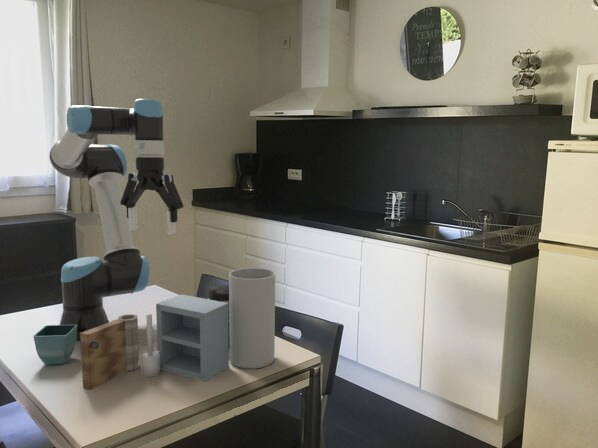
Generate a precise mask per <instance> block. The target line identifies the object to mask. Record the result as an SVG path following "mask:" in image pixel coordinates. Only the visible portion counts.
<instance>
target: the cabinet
mask: <svg viewBox="0 0 598 448" xmlns="http://www.w3.org/2000/svg"><path fill="white" fill-rule="evenodd" d="M155 308H156V310H155V312H156V314H155V315H156V317H155V318H156V341H157V345H156V349H157V350H156V351H154V343H153V342H154V341H153V315H152V313H146V316H145V318H146V320H145V321H146V351H147V352H145V353H142V354H141V357H140V358H141V376H143V377H144V378H145V377H146V378H153V377H155V376H158V375H160V370H162V371H166V372H170V373H173V374H177V375H180V376H184V377H188V378H190V379H195V380H197V381H198V380H199V381H202V382H208V381H209V380H211V379H213V378H214V377H216V376H217V375H219V374H220V373H221V372H223V371H225V370H227V369H229V367H230V366H229V365H230V363H229V361H230V348H229V329H228V303H225V302H220V301H214V300H209V299H208V298H203V297H197V296H193V295H186V294H178V295H176V296H173V297H171V298H166V299H165V300H162V301H159V302H157V303H155Z"/></svg>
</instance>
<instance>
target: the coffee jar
mask: <svg viewBox="0 0 598 448" xmlns="http://www.w3.org/2000/svg"><path fill="white" fill-rule="evenodd" d="M207 299H209V300H214V301H220V302H225V303H228V329H229V284H222V285H215V286H209V288H208V293H207ZM229 349H230V340H229Z"/></svg>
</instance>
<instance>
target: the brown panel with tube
mask: <svg viewBox="0 0 598 448" xmlns="http://www.w3.org/2000/svg"><path fill="white" fill-rule="evenodd" d="M138 317H139V316H138V315H137V314H123V315H119V316H118V318H117V319H115V320H112V321H109V323H106V324H103V325H101V326H98V327H95V328H93V329H90V330H87V331H84V332H82V333H80V339H81V340H80V353H81V354H80V355H81V357H80V359H81V373H82V374H81V375H82V387H83V389H86V390H89V391H90V390H92V389H94V388H96V387H98V386H100V385H102V384H104V383H106V382H108V381H111V380H113V379H114V378H117V377H118V376H120V375H122V374H124V373H127V372H131V371H132V372H133V371H135V370H138V369H139V368H140V357H139V356H140V352H139V349H140V348H139V326H138V325H139V323H138V322H139V319H138Z"/></svg>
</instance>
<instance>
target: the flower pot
mask: <svg viewBox="0 0 598 448" xmlns="http://www.w3.org/2000/svg"><path fill="white" fill-rule="evenodd" d="M76 338H77V325H60V324H57V325H56V324H52V325H51V324H50V325H48V324H47V325H45V326H43V327H42V328H41V329H39V331H37V332H36V333H35V334H33V341H34V345H35V349H36V354H37V356H38V358H39V359H40V360H41V362H42V363H43V364H45V365H64V364H65V363H67V362H68V360H69V359H70V358H71V357H72V354H73V353H74V349H75V347H76V343H77V340H76Z"/></svg>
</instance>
